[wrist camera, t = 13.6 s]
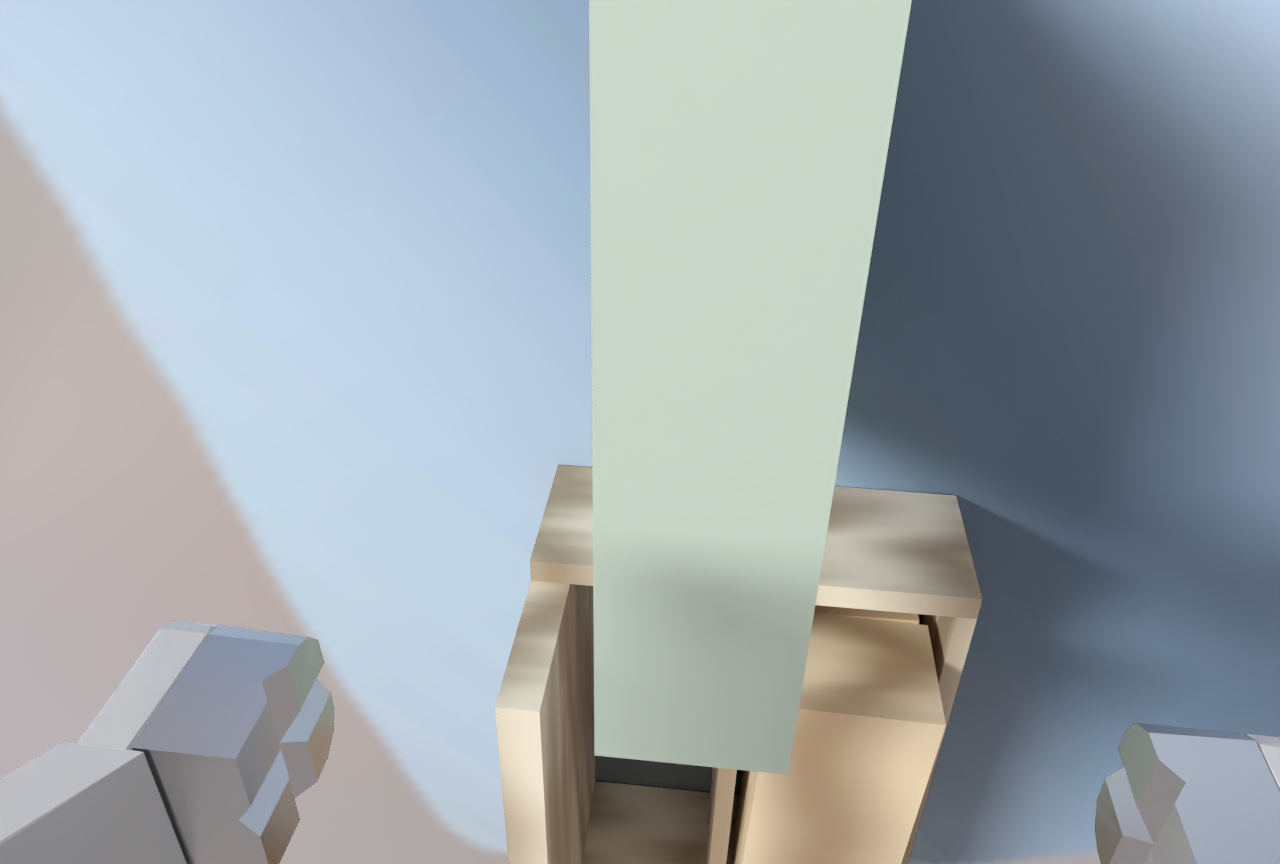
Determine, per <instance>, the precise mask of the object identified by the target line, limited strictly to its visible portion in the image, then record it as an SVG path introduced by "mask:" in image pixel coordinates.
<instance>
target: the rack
mask: <svg viewBox="0 0 1280 864" xmlns="http://www.w3.org/2000/svg"><path fill="white" fill-rule="evenodd" d="M530 568H531V583H530V587H529V590H528V594H527V597H526V601H525V604H524V608H523V611H522V615H521V618H520V622H519V625H518V629H517V632H516V636H515V639H514V643H513V646H512V650H511V653H510V657H509V660H508V664H507V667H506V671H505V674H504V678H503V681H502V685H501V688H500V692H499V695H498V699H497V702H496V706H495V713H496V724H497V736H498V747H499V758H500V769H501V781H502V792H503V803H504V815H505V826H506V837H507V848H508V860H509V864H730V856H731V845H732V839H733V833H734V827H735V820H736V814H737V808H738V802H739V796H738V795H734V791H735V782H736V773H737V770H735V769H725V768H715V767H713V771H712V782H711V793H708V792H698V791H688V790H678V789H668V788H658V787H648V786H638V785H628V784H618V783H609V782H599V781H595V755H594V617H593V471H592V467H579V466H566V465H558V468H557V471H556V474H555V478H554V481H553V485H552V488H551V491H550V495H549V498H548V502H547V505H546V509H545V512H544V515H543V519H542V522H541V526H540V529H539V532H538V536H537V539H536V543H535V546H534V549H533V553H532V556H531V560H530ZM982 600H983V598H982V595H981V591H980V587H979V583H978V579H977V575H976V571H975V567H974V563H973V559H972V555H971V552H970V548H969V544H968V540H967V536H966V532H965V528H964V524H963V520H962V516H961V512H960V509H959V505H958V501H957V497H956V496H954V495H942V494H929V493H916V492H903V491H890V490H877V489H864V488H851V487H838V486H834V492H833V498H832V504H831V510H830V517H829V523H828V529H827V536H826V542H825V548H824V554H823V561H822V567H821V573H820V580H819V586H818V592H817V598H816V605H819V606H831V607H843V608H854V609H866V610H877V611H889V612H901V613H912V614H918V616H919V624H920V625H928V629H929V634H930V640H931V645H932V651H933V656H934V662H935V667H936V673H937V678H938V684H939V689H940V695H941V700H942V706H943V711H944V717H945V722H946V727H945V730H944V733H943V736H942V740H941V743H940V746H939V749H938V752H937V755H936V758H935V761H934V764H933V767H932V770H931V773H930V776H929V780H928V783H927V786H926V789H925V792H924V795H923V798H922V801H921V804H920V807H919V810H918V813H917V816H916V820H915V823H914V826H913V829H912V832H911V835H910V838H909V841H908V844H907V847H906V850H905V853H904V856H903V860H902V863H901V864H908V862H909V859H910V855H911V852H912V848H913V845H914V841H915V838H916V834H917V830H918V827H919V823H920V820H921V816H922V813H923V809H924V806H925V802H926V798H927V795H928V791H929V788H930V784H931V781H932V777H933V774H934V770H935V767H936V763H937V759H938V756H939V752H940V749H941V745H942V742H943V738H944V735H945V731H946V728H947V724H948V720H949V717H950V713H951V710H952V706H953V703H954V699H955V696H956V692H957V688H958V685H959V681H960V678H961V674H962V671H963V667H964V664H965V660H966V657H967V653H968V649H969V646H970V642H971V639H972V635H973V632H974V628H975V625H976V621H977V617H978V614H979V610H980V607H981V603H982Z"/></svg>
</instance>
